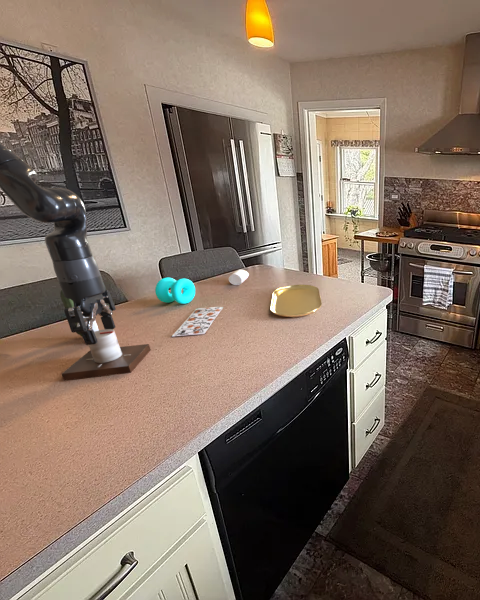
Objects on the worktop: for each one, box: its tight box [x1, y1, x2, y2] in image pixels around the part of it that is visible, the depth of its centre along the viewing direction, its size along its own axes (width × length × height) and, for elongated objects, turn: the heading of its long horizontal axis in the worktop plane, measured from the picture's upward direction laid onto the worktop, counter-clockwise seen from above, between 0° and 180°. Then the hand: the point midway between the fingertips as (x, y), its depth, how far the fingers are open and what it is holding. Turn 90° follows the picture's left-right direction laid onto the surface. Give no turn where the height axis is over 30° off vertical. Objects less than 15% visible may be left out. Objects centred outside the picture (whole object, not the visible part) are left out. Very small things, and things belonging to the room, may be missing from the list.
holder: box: [61, 343, 151, 381], centre depth 86 cm, size 14×12×2 cm
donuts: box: [154, 276, 196, 305], centre depth 127 cm, size 10×10×10 cm
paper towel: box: [171, 306, 224, 337], centre depth 113 cm, size 24×1×9 cm
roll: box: [228, 269, 250, 286], centre depth 154 cm, size 6×12×6 cm, turn 3°
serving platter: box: [269, 284, 323, 318], centre depth 131 cm, size 19×35×2 cm, turn 17°
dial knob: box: [88, 328, 122, 363], centre depth 85 cm, size 6×6×7 cm
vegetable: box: [59, 289, 82, 337], centre depth 98 cm, size 4×4×20 cm
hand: (101, 336), depth 84 cm, fingers open, 8 cm apart
